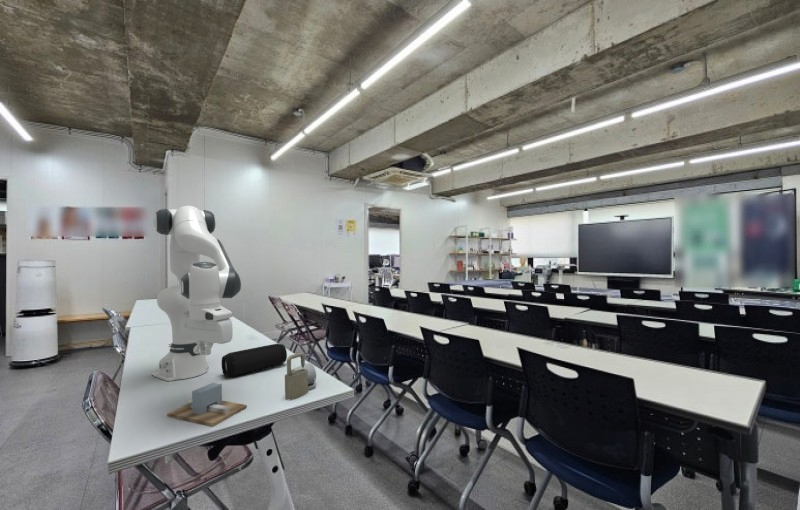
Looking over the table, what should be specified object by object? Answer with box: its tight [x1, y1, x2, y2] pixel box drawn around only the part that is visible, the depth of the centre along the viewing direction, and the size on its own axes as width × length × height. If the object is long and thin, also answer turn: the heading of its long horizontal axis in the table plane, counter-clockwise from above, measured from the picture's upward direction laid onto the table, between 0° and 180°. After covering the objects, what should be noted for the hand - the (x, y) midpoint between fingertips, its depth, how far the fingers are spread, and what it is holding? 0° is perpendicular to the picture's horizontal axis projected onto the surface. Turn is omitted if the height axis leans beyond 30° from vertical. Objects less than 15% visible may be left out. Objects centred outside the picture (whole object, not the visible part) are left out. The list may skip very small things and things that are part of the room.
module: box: [191, 382, 223, 415], centre depth 113 cm, size 4×8×7 cm, turn 158°
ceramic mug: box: [291, 362, 317, 391], centre depth 133 cm, size 11×8×8 cm
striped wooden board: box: [166, 399, 248, 428], centre depth 113 cm, size 20×13×2 cm, turn 68°
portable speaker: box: [221, 343, 288, 378], centre depth 153 cm, size 26×10×10 cm, turn 132°
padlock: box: [284, 352, 309, 400], centre depth 124 cm, size 4×8×15 cm, turn 144°
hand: (205, 354), depth 112 cm, fingers closed
